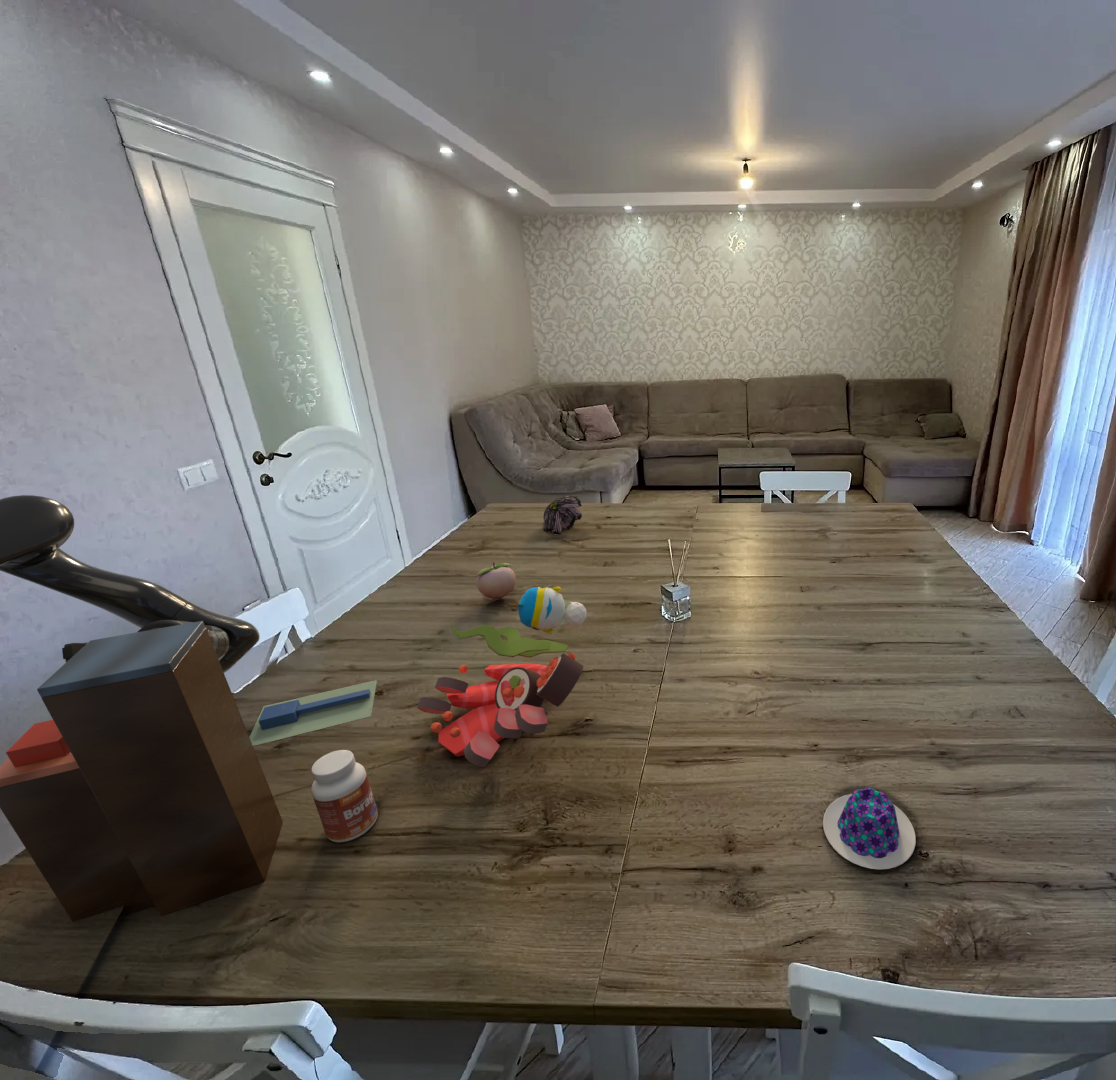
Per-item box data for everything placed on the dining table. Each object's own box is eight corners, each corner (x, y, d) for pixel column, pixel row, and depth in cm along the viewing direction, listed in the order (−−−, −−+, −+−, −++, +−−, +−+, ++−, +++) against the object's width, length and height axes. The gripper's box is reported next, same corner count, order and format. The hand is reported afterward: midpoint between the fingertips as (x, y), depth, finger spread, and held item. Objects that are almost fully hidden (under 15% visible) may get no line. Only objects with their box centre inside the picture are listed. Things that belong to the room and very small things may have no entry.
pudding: (832, 788, 83) (834, 759, 81) (917, 811, 78) (922, 782, 77) (814, 855, 72) (816, 825, 70) (911, 886, 68) (916, 855, 66)
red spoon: (14, 767, 58) (5, 752, 58) (93, 684, 72) (86, 671, 71) (66, 755, 60) (58, 740, 59) (134, 676, 73) (128, 663, 73)
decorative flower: (528, 499, 186) (570, 481, 190) (540, 525, 194) (580, 507, 198) (540, 523, 176) (584, 503, 181) (552, 549, 184) (594, 529, 189)
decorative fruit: (495, 611, 135) (489, 573, 131) (474, 603, 139) (467, 566, 135) (526, 595, 142) (521, 559, 139) (505, 588, 146) (499, 553, 143)
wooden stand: (67, 947, 63) (-86, 713, 51) (111, 873, 71) (-12, 658, 60) (264, 881, 70) (169, 663, 58) (283, 821, 78) (203, 620, 67)
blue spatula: (267, 716, 99) (264, 707, 98) (371, 691, 105) (369, 682, 104) (261, 730, 96) (258, 720, 95) (369, 704, 102) (367, 694, 101)
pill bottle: (356, 847, 74) (334, 782, 70) (315, 841, 75) (291, 777, 71) (389, 809, 80) (370, 747, 76) (350, 804, 81) (330, 743, 77)
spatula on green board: (244, 750, 92) (244, 748, 92) (264, 707, 102) (263, 706, 102) (371, 718, 99) (370, 716, 99) (377, 681, 109) (376, 679, 109)
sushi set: (585, 776, 87) (409, 774, 75) (542, 739, 112) (406, 733, 101) (615, 592, 92) (456, 565, 81) (568, 597, 118) (442, 577, 107)
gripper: (114, 632, 86) (34, 628, 71) (230, 612, 92) (178, 604, 77) (120, 680, 85) (40, 687, 70) (236, 657, 91) (185, 658, 76)
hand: (112, 643), depth 74 cm, fingers open, 8 cm apart
